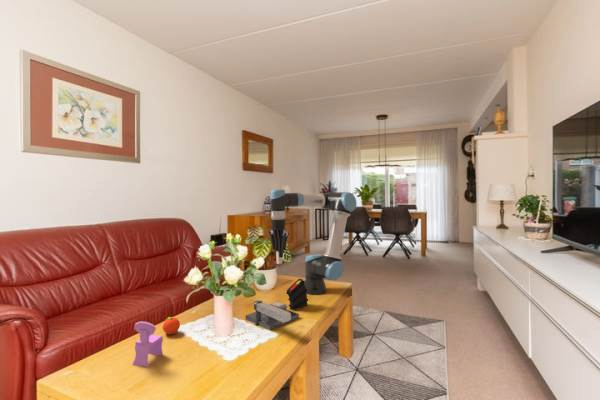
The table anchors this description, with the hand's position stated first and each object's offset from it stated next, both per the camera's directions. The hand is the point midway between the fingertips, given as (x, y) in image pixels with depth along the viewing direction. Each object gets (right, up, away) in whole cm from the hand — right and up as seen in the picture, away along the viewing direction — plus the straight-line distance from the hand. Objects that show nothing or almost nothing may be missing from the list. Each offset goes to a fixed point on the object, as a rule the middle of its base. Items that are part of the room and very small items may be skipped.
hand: (279, 263), depth 159 cm
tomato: (-46, -25, -27) cm, 59 cm away
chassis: (-3, -25, -11) cm, 27 cm away
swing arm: (-2, -18, -24) cm, 30 cm away
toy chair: (-45, -26, -48) cm, 71 cm away
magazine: (+9, -25, +4) cm, 27 cm away
